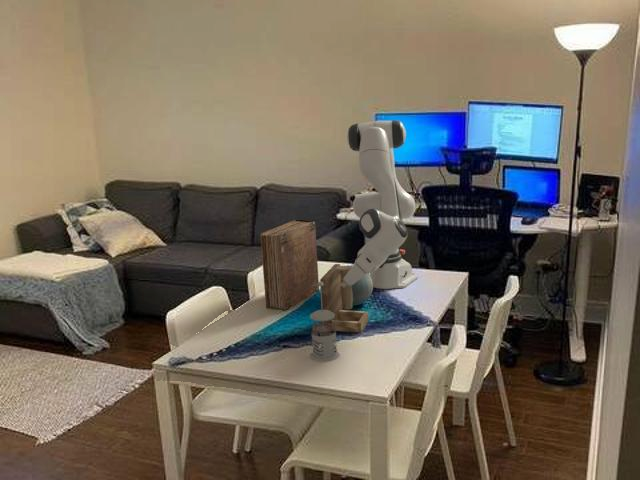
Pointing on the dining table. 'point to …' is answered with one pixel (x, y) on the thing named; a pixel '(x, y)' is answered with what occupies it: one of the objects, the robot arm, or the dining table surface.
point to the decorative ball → (362, 289)
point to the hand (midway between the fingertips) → (344, 283)
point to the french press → (323, 336)
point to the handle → (345, 288)
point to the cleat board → (340, 305)
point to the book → (289, 264)
